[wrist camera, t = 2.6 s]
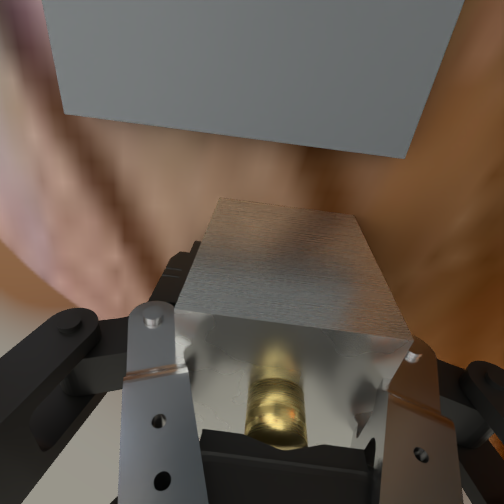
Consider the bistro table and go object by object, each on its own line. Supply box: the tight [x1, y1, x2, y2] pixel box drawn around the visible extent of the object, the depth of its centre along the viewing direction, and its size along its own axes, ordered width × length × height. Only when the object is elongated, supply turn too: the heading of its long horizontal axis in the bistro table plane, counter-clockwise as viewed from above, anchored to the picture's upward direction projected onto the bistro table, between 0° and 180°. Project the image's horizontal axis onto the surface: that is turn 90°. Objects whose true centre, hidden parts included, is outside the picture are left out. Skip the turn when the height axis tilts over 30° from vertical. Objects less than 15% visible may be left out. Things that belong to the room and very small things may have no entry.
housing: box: [174, 198, 414, 450], centre depth 10 cm, size 5×5×7 cm
